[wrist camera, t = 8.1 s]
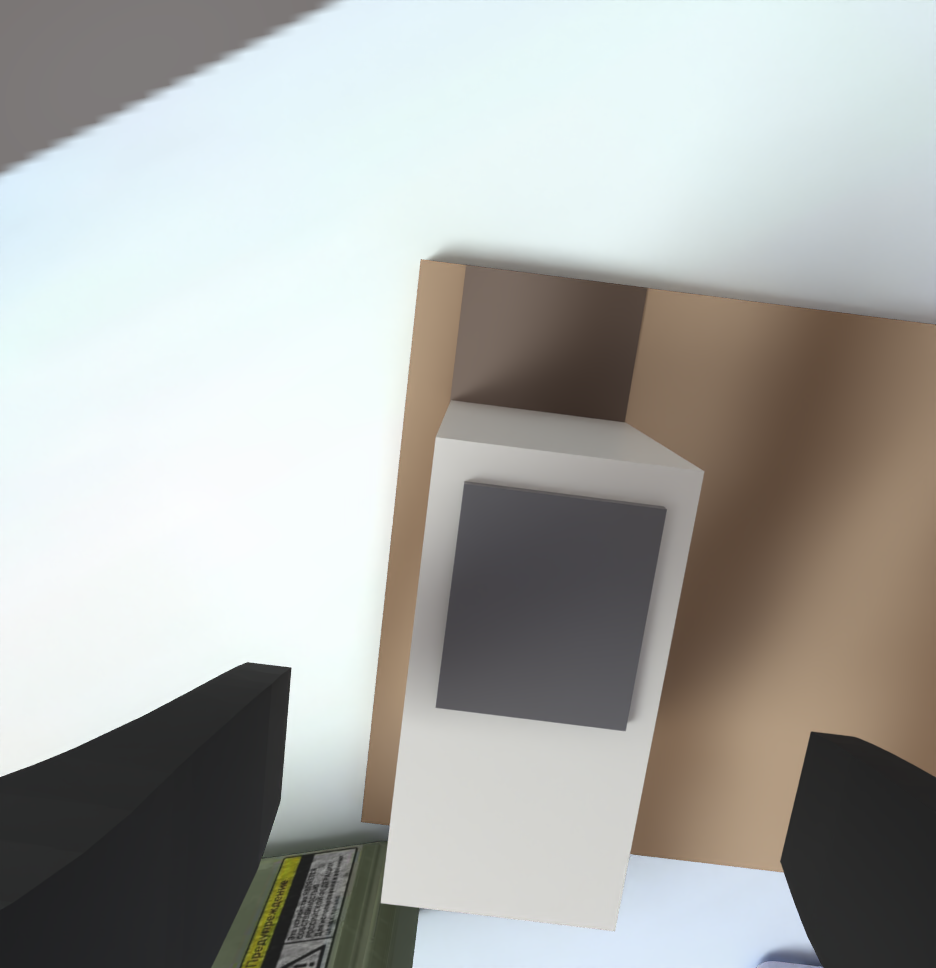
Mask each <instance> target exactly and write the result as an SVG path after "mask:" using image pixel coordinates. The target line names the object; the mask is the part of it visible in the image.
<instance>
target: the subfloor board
mask: <svg viewBox="0 0 936 968" xmlns="http://www.w3.org/2000/svg"><path fill="white" fill-rule="evenodd" d="M451 400H453V401H461V402H469V403H477V404H485V405H492V406H500V407H508V408H516V409H524V410H532V411H539V412H547V413H555V414H563V415H571V416H578V417H586V418H594V419H602V420H610V421H618V422H625V423H627V424H629V425H631V426H632V427H634V428H635V429H637V430H639V431H640V432H642V433H643V434H645V435H647V436H648V437H650V438H651V439H653V440H655V441H656V442H658V443H660V444H661V445H663V446H664V447H666V448H668V449H669V450H671V451H672V452H674V453H676V454H677V455H679V456H680V457H682V458H684V459H685V460H687V461H689V462H690V463H692V464H693V465H695V466H697V467H698V468H700V469H701V470H703V471H704V476H703V481H702V486H701V491H700V497H699V502H698V507H697V512H696V517H695V522H694V527H693V533H692V538H691V543H690V548H689V553H688V558H687V563H686V569H685V574H684V579H683V584H682V589H681V594H680V599H679V605H678V610H677V615H676V620H675V625H674V630H673V635H672V641H671V646H670V651H669V656H668V661H667V666H666V671H665V677H664V682H663V687H662V692H661V697H660V702H659V707H658V713H657V718H656V723H655V728H654V733H653V738H652V743H651V748H650V754H649V759H648V764H647V769H646V774H645V779H644V784H643V790H642V795H641V800H640V805H639V810H638V815H637V820H636V826H635V831H634V836H633V841H632V846H631V851H630V854H634V855H642V856H650V857H659V858H667V859H676V860H684V861H692V862H701V863H709V864H717V865H726V866H734V867H743V868H751V869H759V870H768V871H776V872H784V871H783V868H782V865H781V863H780V860H781V855H782V851H783V847H784V843H785V838H786V834H787V830H788V826H789V822H790V817H791V813H792V809H793V805H794V801H795V796H796V792H797V788H798V784H799V779H800V775H801V771H802V767H803V763H804V758H805V754H806V750H807V746H808V741H809V737H810V733H811V731H813V732H821V733H829V734H837V735H845V736H854V737H857V738H860V739H862V740H864V741H867V742H869V743H872V744H874V745H876V746H878V747H880V748H882V749H884V750H886V751H888V752H890V753H892V754H894V755H896V756H898V757H900V758H902V759H904V760H906V761H907V762H909V763H911V764H913V765H915V766H917V767H919V768H920V769H922V770H924V771H926V772H928V773H929V774H931V775H933V776H935V777H936V325H934V324H927V323H919V322H911V321H903V320H895V319H887V318H879V317H871V316H864V315H856V314H848V313H840V312H832V311H824V310H816V309H808V308H800V307H793V306H785V305H777V304H769V303H761V302H753V301H745V300H737V299H730V298H722V297H714V296H706V295H698V294H690V293H682V292H674V291H666V290H659V289H651V288H644V287H636V286H628V285H620V284H613V283H605V282H597V281H589V280H581V279H573V278H565V277H557V276H549V275H542V274H534V273H526V272H518V271H510V270H502V269H494V268H486V267H479V266H471V265H462V264H454V263H446V262H438V261H430V260H422V259H421V262H420V271H419V281H418V290H417V299H416V309H415V318H414V328H413V337H412V347H411V356H410V365H409V375H408V384H407V394H406V403H405V413H404V422H403V431H402V441H401V450H400V460H399V469H398V479H397V488H396V497H395V507H394V516H393V526H392V535H391V545H390V554H389V563H388V573H387V582H386V592H385V601H384V611H383V620H382V629H381V639H380V648H379V658H378V667H377V677H376V686H375V695H374V705H373V714H372V724H371V733H370V743H369V752H368V761H367V771H366V780H365V790H364V799H363V809H362V818H361V822H365V823H374V824H382V825H390V819H391V811H392V802H393V794H394V786H395V777H396V769H397V760H398V752H399V743H400V735H401V726H402V718H403V709H404V701H405V693H406V684H407V676H408V667H409V659H410V650H411V642H412V633H413V625H414V616H415V608H416V600H417V591H418V583H419V574H420V566H421V557H422V549H423V540H424V532H425V523H426V515H427V507H428V498H429V490H430V481H431V473H432V464H433V456H434V447H435V439H436V435H437V433H438V430H439V428H440V426H441V423H442V421H443V418H444V416H445V414H446V411H447V409H448V406H449V404H450V402H451Z"/></svg>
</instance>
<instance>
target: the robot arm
mask: <svg viewBox="0 0 936 968" xmlns="http://www.w3.org/2000/svg"><path fill="white" fill-rule="evenodd" d="M290 678H291V668H290V667H281V666H273V665H265V664H257V663H249V662H247V663H245V664H242V665H240V666H237V667H235V668H233V669H231V670H229V671H227V672H225V673H223V674H221V675H219V676H218V677H216V678H214V679H212V680H210V681H208V682H206V683H205V684H203V685H201V686H199V687H197V688H195V689H193V690H192V691H190V692H188V693H186V694H184V695H182V696H180V697H178V698H176V699H175V700H173V701H171V702H169V703H167V704H165V705H163V706H161V707H159V708H157V709H156V710H154V711H152V712H150V713H148V714H146V715H144V716H142V717H140V718H138V719H136V720H133V721H131V722H129V723H127V724H125V725H123V726H121V727H119V728H116V729H114V730H112V731H110V732H108V733H106V734H104V735H102V736H99V737H97V738H95V739H93V740H91V741H89V742H87V743H85V744H82V745H80V746H78V747H76V748H74V749H71V750H69V751H67V752H64V753H62V754H59V755H57V756H55V757H52V758H50V759H47V760H45V761H42V762H40V763H37V764H35V765H32V766H29V767H27V768H24V769H21V770H18V771H16V772H13V773H10V774H8V775H5V776H2V777H0V968H211V967H212V965H213V963H214V961H215V959H216V957H217V955H218V953H219V951H220V949H221V946H222V944H223V942H224V940H225V938H226V936H227V934H228V932H229V930H230V928H231V926H232V923H233V921H234V919H235V917H236V915H237V913H238V911H239V909H240V906H241V904H242V902H243V900H244V898H245V896H246V894H247V892H248V889H249V887H250V885H251V883H252V881H253V879H254V876H255V874H256V872H257V870H258V867H259V864H260V861H261V859H262V856H263V853H264V850H265V847H266V844H267V841H268V838H269V835H270V832H271V829H272V826H273V823H274V820H275V816H276V813H277V810H278V807H279V804H280V801H281V789H282V777H283V764H284V752H285V740H286V728H287V715H288V703H289V691H290ZM780 863H781V865H782V868H783V871H784V874H785V877H786V880H787V883H788V886H789V889H790V892H791V894H792V897H793V900H794V903H795V906H796V908H797V911H798V913H799V916H800V918H801V921H802V924H803V926H804V929H805V931H806V934H807V936H808V938H809V940H810V942H811V944H812V946H813V948H814V950H815V952H816V954H817V956H818V958H819V960H820V962H821V964H822V966H823V967H820V966H811V965H803V964H794V963H786V962H777V961H766V962H764V963H761V964H760V965H758V966H757V967H756V968H936V777H935V776H933V775H931V774H929V773H928V772H926V771H924V770H922V769H920V768H919V767H917V766H915V765H913V764H911V763H909V762H907V761H906V760H904V759H902V758H900V757H898V756H896V755H894V754H892V753H890V752H888V751H886V750H884V749H882V748H880V747H878V746H876V745H874V744H872V743H869V742H867V741H864V740H862V739H860V738H857V737H854V736H845V735H837V734H829V733H821V732H813V731H811V733H810V737H809V741H808V746H807V750H806V754H805V758H804V763H803V767H802V771H801V775H800V779H799V784H798V788H797V792H796V796H795V801H794V805H793V809H792V813H791V817H790V822H789V826H788V830H787V834H786V838H785V843H784V847H783V851H782V855H781V860H780Z"/></svg>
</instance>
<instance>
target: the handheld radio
mask: <svg viewBox="0 0 936 968" xmlns="http://www.w3.org/2000/svg"><path fill="white" fill-rule="evenodd" d="M387 845H388V841H380V842H373V843H366V844H359V845H352V846H346V847H339V848H332V849H325V850H318V851H311V852H305V853H298V854H291V855H284V856H277V857H270V858H264V859H261V861H260V864H259V867H258V870H257V872H256V874H255V876H254V879H253V881H252V883H251V885H250V887H249V889H248V892H247V894H246V896H245V898H244V900H243V902H242V904H241V906H240V909H239V911H238V913H237V915H236V917H235V919H234V921H233V923H232V926H231V928H230V930H229V932H228V934H227V936H226V938H225V940H224V942H223V944H222V946H221V949H220V951H219V953H218V955H217V957H216V959H215V961H214V963H213V965H212V967H211V968H412V965H413V956H414V948H415V940H416V931H417V923H418V914H419V908H417V907H409V906H401V905H392V904H384V903H381V895H382V887H383V879H384V870H385V862H386V853H387Z"/></svg>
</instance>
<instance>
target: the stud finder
mask: <svg viewBox="0 0 936 968" xmlns="http://www.w3.org/2000/svg"><path fill="white" fill-rule="evenodd" d="M703 476H704V471H703V470H701V469H700V468H698V467H697V466H695V465H693V464H692V463H690V462H689V461H687V460H685V459H684V458H682V457H680V456H679V455H677V454H676V453H674V452H672V451H671V450H669V449H668V448H666V447H664V446H663V445H661V444H660V443H658V442H656V441H655V440H653V439H651V438H650V437H648V436H647V435H645V434H643V433H642V432H640V431H639V430H637V429H635V428H634V427H632V426H631V425H629V424H627V423H625V422H618V421H610V420H602V419H594V418H586V417H578V416H571V415H563V414H555V413H547V412H539V411H532V410H524V409H516V408H508V407H500V406H492V405H485V404H477V403H469V402H461V401H453V400H451V402H450V404H449V406H448V409H447V411H446V414H445V416H444V418H443V421H442V423H441V426H440V428H439V430H438V433H437V435H436V439H435V447H434V456H433V464H432V473H431V481H430V490H429V498H428V507H427V515H426V523H425V532H424V540H423V549H422V557H421V566H420V574H419V583H418V591H417V600H416V608H415V616H414V625H413V633H412V642H411V650H410V659H409V667H408V676H407V684H406V693H405V701H404V709H403V718H402V726H401V735H400V743H399V752H398V760H397V769H396V777H395V786H394V794H393V802H392V811H391V819H390V828H389V836H388V845H387V853H386V862H385V870H384V879H383V887H382V895H381V903H384V904H392V905H401V906H409V907H417V908H426V909H434V910H442V911H450V912H459V913H467V914H475V915H484V916H492V917H500V918H508V919H517V920H525V921H533V922H542V923H550V924H558V925H567V926H575V927H583V928H591V929H600V930H608V931H615V928H616V923H617V918H618V913H619V908H620V903H621V898H622V892H623V887H624V882H625V877H626V872H627V867H628V862H629V856H630V851H631V846H632V841H633V836H634V831H635V826H636V820H637V815H638V810H639V805H640V800H641V795H642V790H643V784H644V779H645V774H646V769H647V764H648V759H649V754H650V748H651V743H652V738H653V733H654V728H655V723H656V718H657V713H658V707H659V702H660V697H661V692H662V687H663V682H664V677H665V671H666V666H667V661H668V656H669V651H670V646H671V641H672V635H673V630H674V625H675V620H676V615H677V610H678V605H679V599H680V594H681V589H682V584H683V579H684V574H685V569H686V563H687V558H688V553H689V548H690V543H691V538H692V533H693V527H694V522H695V517H696V512H697V507H698V502H699V497H700V491H701V486H702V481H703Z"/></svg>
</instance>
